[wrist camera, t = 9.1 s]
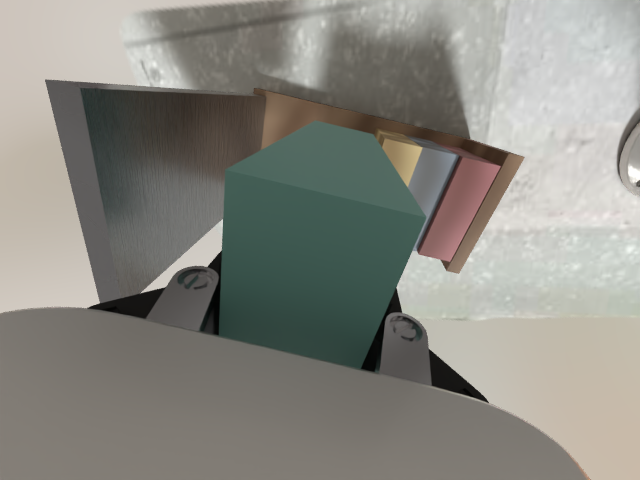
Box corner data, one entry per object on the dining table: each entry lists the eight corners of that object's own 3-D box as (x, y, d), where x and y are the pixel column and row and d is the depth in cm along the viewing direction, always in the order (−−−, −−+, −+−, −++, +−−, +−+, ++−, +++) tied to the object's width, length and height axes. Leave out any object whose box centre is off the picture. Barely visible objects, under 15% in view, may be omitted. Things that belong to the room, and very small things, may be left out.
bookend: (266, 96, 28) (79, 87, 9) (257, 187, 33) (122, 308, 14) (255, 93, 28) (45, 79, 9) (248, 184, 33) (100, 303, 14)
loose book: (373, 134, 18) (426, 217, 5) (338, 257, 23) (320, 459, 10) (315, 120, 18) (224, 169, 5) (292, 246, 23) (214, 435, 10)
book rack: (470, 139, 29) (524, 157, 20) (430, 227, 35) (458, 273, 25) (258, 88, 29) (214, 83, 20) (250, 184, 35) (212, 214, 25)
